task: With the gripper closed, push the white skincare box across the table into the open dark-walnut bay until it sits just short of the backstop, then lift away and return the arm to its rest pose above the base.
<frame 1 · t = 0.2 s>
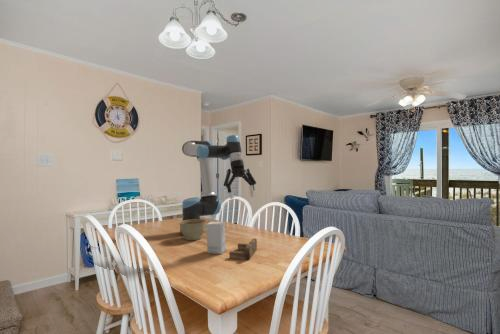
hand: (242, 197, 153), 28 cm above the table, tool tilted 20°, fingers open, 13 cm apart
bay: (243, 254, 142), on the table
skincare box: (216, 252, 145), on the table
planter bowl: (193, 239, 173), on the table
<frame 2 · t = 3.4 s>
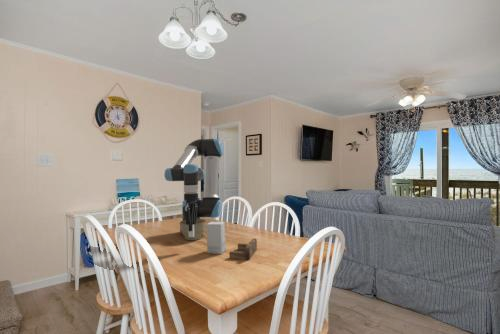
hand: (191, 236, 148), 8 cm above the table, tool pointing down, fingers closed
nothing on the table moved.
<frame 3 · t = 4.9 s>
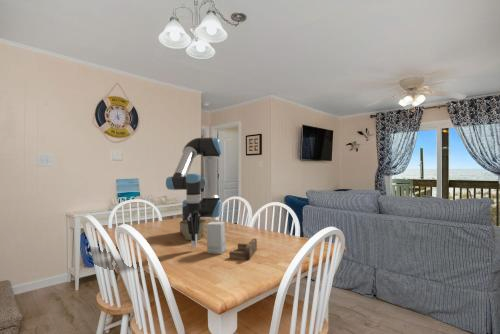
hand: (194, 246, 148), 2 cm above the table, tool pointing down, fingers closed
nothing on the table moved.
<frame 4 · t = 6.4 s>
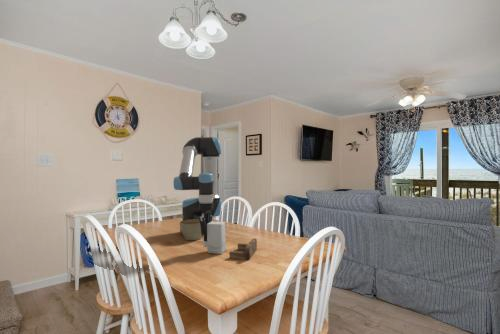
hand: (206, 246, 146), 3 cm above the table, tool pointing down, fingers closed
skincare box: (216, 252, 145), on the table, touching gripper
everything else where it was.
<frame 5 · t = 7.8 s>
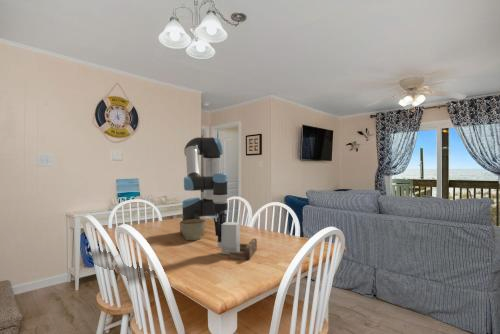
hand: (220, 247, 144), 3 cm above the table, tool pointing down, fingers closed
skincare box: (230, 253, 143), on the table, touching gripper
everything else where it was.
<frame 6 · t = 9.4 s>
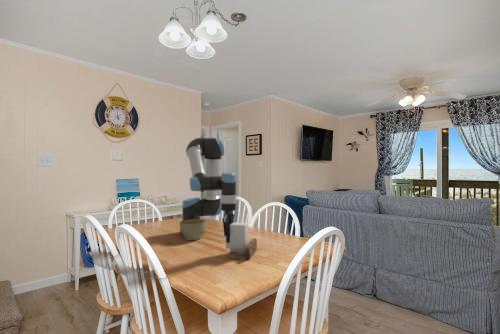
hand: (228, 248, 143), 3 cm above the table, tool pointing down, fingers closed
skincare box: (239, 254, 142), on the table, touching gripper
everything else where it was.
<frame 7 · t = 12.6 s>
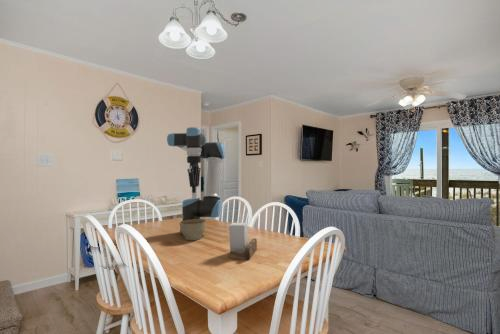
hand: (194, 198, 153), 28 cm above the table, tool pointing down, fingers closed
skincare box: (239, 254, 142), on the table
everything else where it was.
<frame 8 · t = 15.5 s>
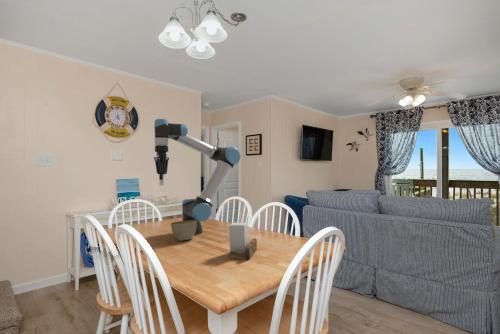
hand: (162, 185, 164), 34 cm above the table, tool pointing down, fingers closed
planter bowl: (185, 239, 171), on the table, touching arm
everything else where it was.
at the end: skincare box inside the target area (0.9 cm from its centre), on the table; skincare box tilted 0°; skincare box moved 12.6 cm from its start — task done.
